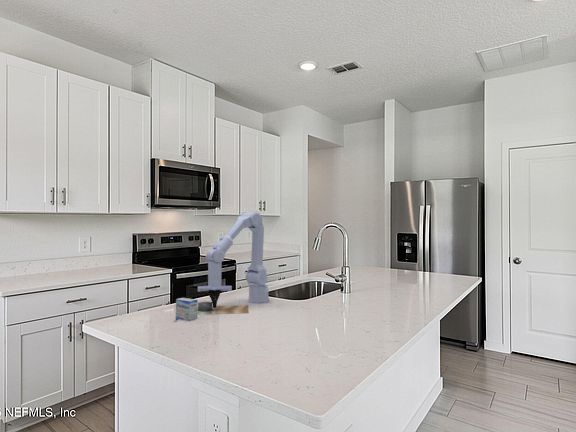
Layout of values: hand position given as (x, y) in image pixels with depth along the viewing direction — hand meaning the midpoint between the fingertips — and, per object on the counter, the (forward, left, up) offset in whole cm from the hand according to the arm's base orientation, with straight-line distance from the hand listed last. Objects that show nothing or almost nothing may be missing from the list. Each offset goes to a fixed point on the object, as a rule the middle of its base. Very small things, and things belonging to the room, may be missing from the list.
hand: (214, 307), depth 165 cm
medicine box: (+10, +12, -2) cm, 16 cm away
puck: (+4, 0, -1) cm, 4 cm away
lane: (-1, 0, -2) cm, 2 cm away
